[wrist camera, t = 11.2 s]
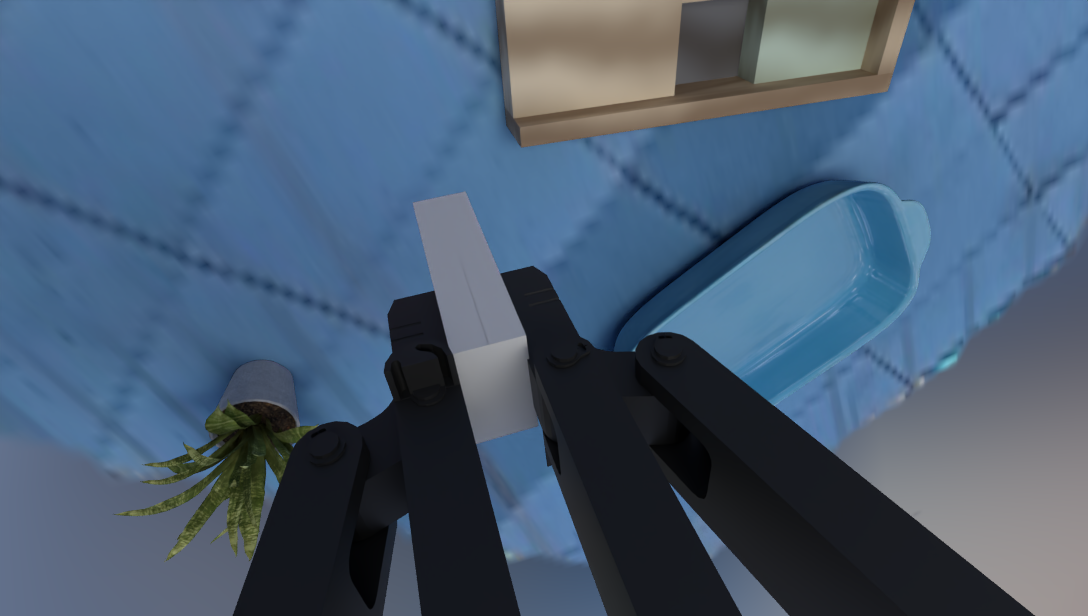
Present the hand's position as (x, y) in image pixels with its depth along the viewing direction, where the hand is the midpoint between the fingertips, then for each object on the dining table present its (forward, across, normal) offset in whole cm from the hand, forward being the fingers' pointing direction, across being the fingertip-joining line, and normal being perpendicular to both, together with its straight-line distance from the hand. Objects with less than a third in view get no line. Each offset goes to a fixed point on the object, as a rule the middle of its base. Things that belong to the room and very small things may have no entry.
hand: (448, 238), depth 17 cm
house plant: (+30, -19, -27) cm, 45 cm away
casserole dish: (+30, +32, -33) cm, 54 cm away
